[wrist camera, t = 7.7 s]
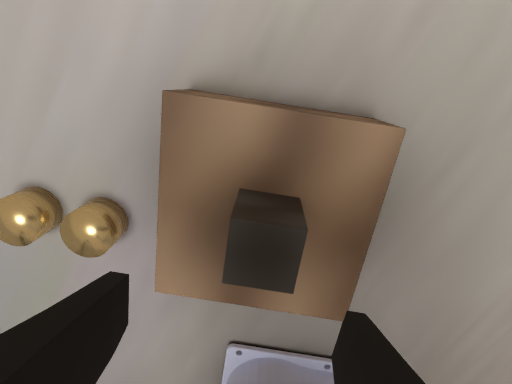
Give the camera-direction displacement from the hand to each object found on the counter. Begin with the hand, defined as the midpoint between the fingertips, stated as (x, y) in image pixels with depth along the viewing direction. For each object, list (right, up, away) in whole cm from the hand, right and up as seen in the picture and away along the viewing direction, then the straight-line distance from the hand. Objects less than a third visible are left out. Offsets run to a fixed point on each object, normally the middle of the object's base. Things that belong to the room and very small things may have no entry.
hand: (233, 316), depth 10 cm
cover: (+1, +4, +9) cm, 10 cm away
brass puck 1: (-14, +3, +11) cm, 18 cm away
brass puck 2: (-10, +2, +11) cm, 15 cm away
